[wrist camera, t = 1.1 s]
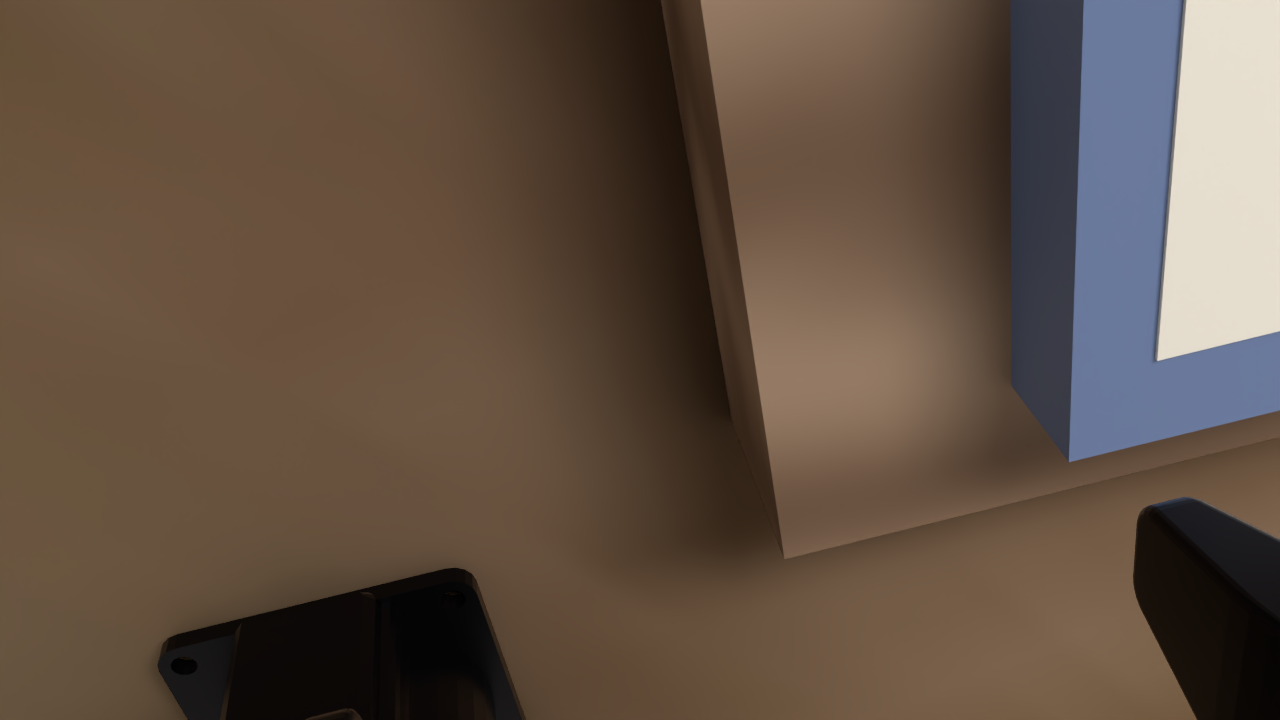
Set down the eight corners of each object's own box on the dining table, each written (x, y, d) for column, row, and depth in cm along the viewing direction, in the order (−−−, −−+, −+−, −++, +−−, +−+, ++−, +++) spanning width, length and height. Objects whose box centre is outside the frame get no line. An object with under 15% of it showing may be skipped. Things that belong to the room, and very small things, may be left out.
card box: (1371, 298, 19) (1465, 367, 17) (1011, 385, 19) (1071, 464, 17) (1497, -342, 14) (1645, -331, 12) (1010, -232, 14) (1093, -207, 12)
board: (1502, 235, 24) (1676, 339, 21) (732, 422, 24) (784, 559, 20) (1734, -658, 16) (2074, -723, 13) (591, -410, 16) (639, -410, 12)
